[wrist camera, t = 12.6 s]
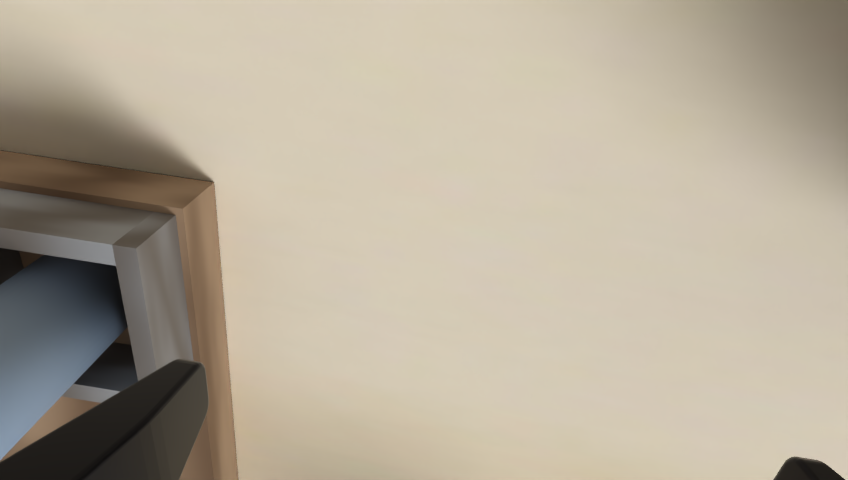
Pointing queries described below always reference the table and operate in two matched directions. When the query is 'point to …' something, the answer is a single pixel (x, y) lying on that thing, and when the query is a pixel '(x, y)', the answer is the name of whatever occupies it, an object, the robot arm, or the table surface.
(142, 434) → the robot arm
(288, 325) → the table surface
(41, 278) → the stool leg
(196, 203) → the four-cup wooden tray
